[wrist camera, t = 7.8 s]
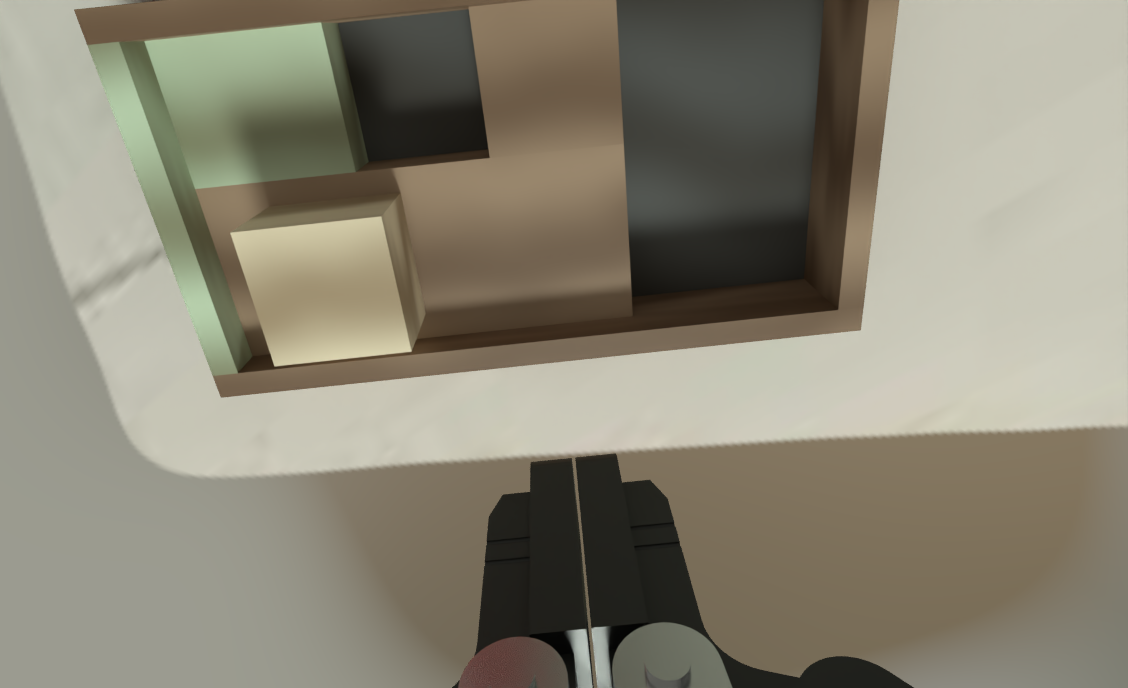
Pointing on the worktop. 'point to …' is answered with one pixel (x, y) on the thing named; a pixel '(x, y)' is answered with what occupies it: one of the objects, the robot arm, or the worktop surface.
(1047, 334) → the worktop surface
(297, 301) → the birch block
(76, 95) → the worktop surface
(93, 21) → the channel
